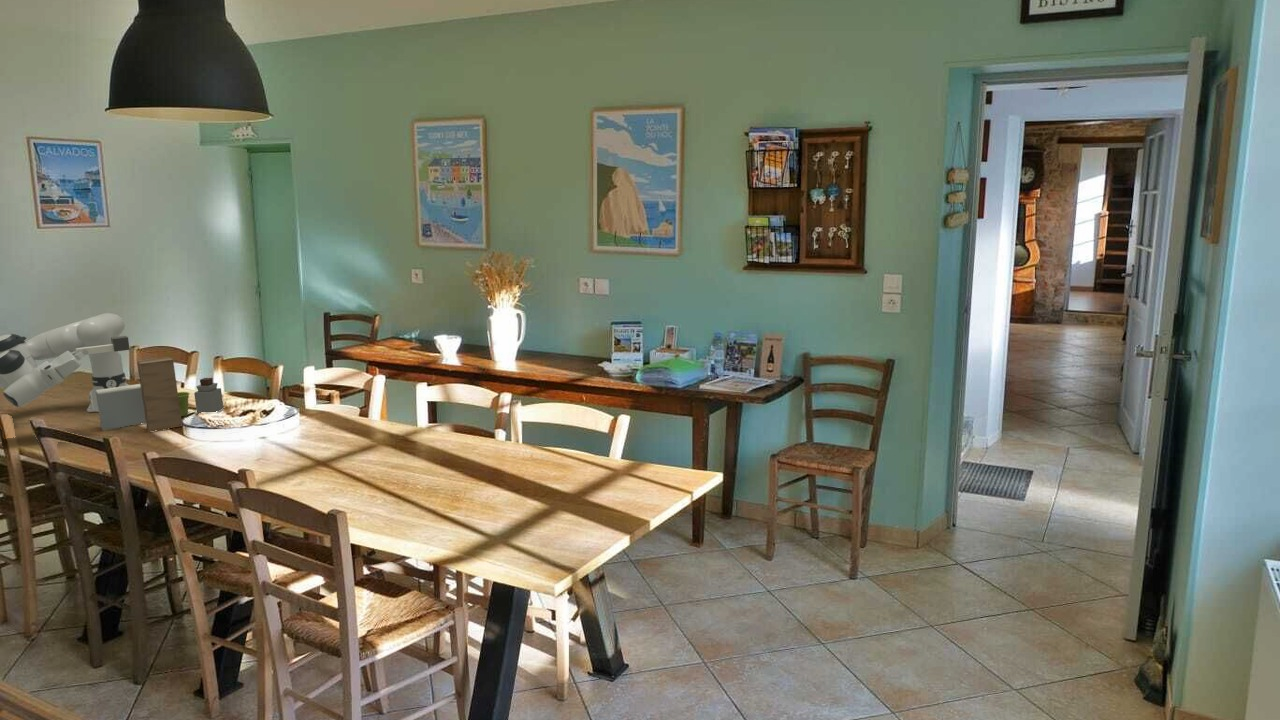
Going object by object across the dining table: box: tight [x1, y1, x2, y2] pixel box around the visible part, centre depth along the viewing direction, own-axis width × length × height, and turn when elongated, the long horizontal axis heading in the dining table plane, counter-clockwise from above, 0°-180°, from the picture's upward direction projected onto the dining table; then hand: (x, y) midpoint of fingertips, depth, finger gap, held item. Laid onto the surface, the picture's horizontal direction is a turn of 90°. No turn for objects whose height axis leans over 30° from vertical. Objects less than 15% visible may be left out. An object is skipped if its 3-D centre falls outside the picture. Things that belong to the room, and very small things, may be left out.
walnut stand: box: [136, 356, 183, 432], centre depth 347 cm, size 8×11×26 cm
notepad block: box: [96, 383, 146, 432], centre depth 354 cm, size 7×16×14 cm, turn 126°
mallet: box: [75, 335, 131, 356], centre depth 344 cm, size 17×5×5 cm, turn 128°
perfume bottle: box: [193, 377, 224, 416], centre depth 349 cm, size 7×7×18 cm
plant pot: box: [178, 391, 191, 417], centre depth 366 cm, size 9×9×9 cm
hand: (86, 349), depth 341 cm, fingers closed on mallet, 2 cm apart
